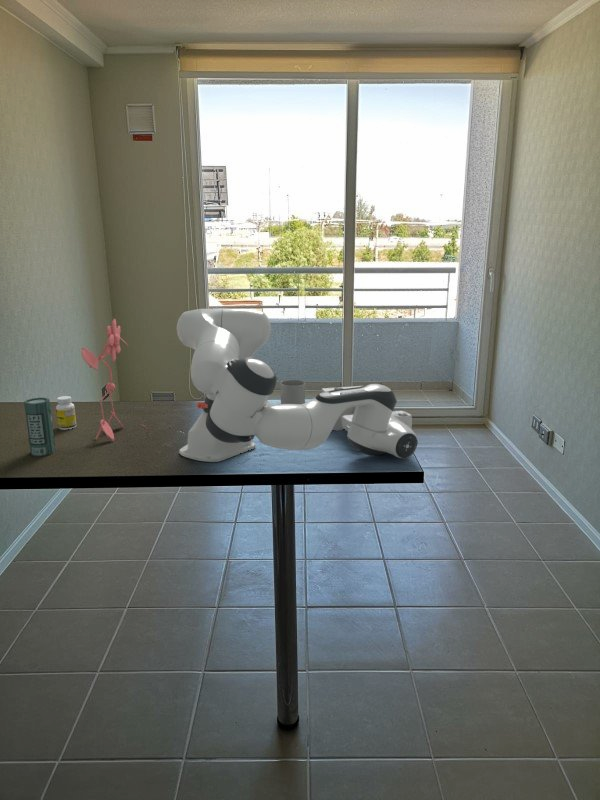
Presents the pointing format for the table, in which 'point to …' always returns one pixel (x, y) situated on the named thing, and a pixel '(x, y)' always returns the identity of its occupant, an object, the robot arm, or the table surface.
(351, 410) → the camera housing
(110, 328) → the figurine
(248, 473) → the table surface
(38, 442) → the can
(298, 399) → the cup
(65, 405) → the supplement bottle
